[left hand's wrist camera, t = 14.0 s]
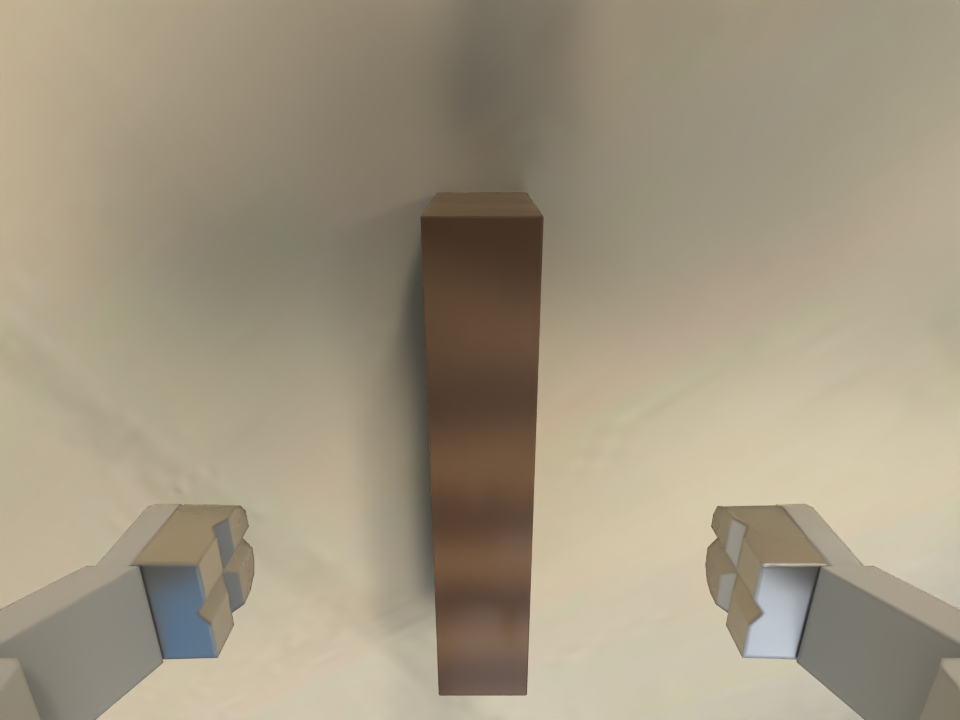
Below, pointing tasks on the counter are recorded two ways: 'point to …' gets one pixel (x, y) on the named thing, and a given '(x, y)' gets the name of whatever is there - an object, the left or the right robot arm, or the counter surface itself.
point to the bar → (482, 431)
